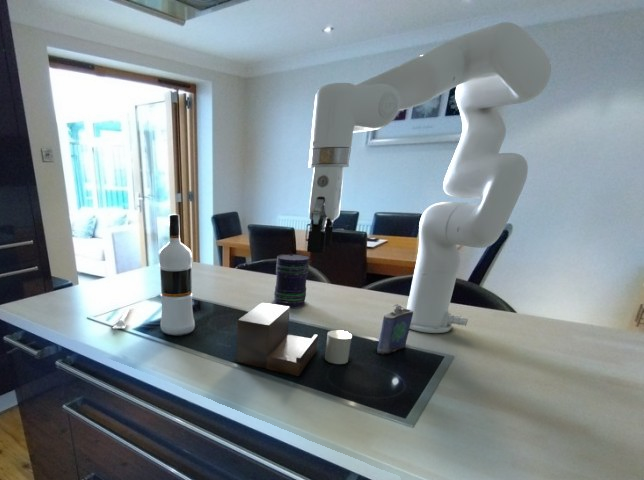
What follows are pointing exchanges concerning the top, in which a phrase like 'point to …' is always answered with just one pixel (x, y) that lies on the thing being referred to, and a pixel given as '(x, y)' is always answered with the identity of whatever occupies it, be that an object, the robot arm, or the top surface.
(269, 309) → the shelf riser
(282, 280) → the storage jar
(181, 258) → the vodka
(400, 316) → the flask
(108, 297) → the top surface
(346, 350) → the white cylinder
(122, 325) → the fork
